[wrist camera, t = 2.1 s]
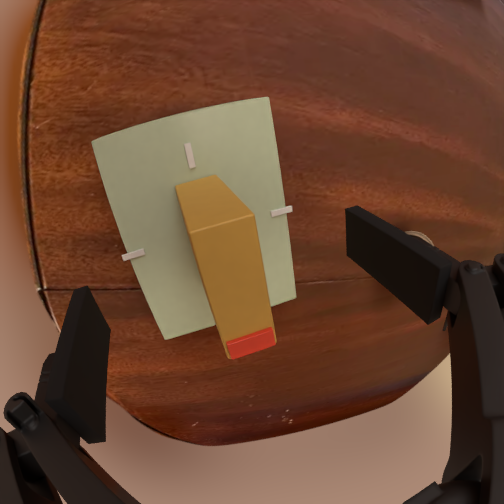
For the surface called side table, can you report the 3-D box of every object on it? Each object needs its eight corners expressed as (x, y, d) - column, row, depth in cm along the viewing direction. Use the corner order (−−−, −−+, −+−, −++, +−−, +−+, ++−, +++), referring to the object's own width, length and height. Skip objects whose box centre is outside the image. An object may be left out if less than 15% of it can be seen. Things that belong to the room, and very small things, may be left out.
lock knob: (174, 185, 16) (189, 235, 10) (216, 173, 17) (257, 215, 11) (202, 282, 19) (229, 364, 13) (237, 271, 20) (279, 346, 14)
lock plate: (95, 138, 16) (84, 144, 14) (258, 97, 18) (275, 95, 16) (157, 316, 23) (160, 343, 20) (285, 276, 25) (301, 297, 22)
